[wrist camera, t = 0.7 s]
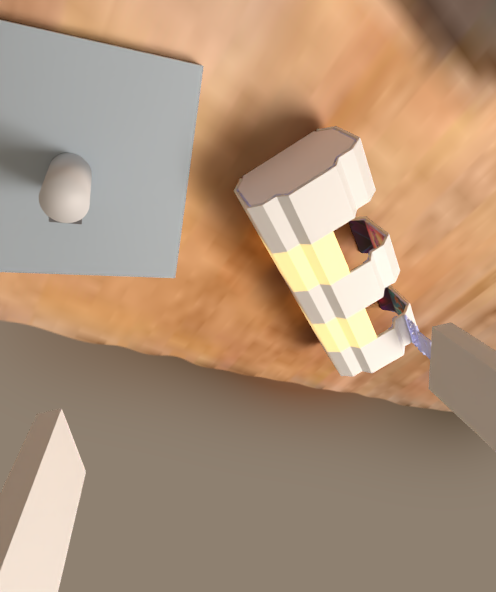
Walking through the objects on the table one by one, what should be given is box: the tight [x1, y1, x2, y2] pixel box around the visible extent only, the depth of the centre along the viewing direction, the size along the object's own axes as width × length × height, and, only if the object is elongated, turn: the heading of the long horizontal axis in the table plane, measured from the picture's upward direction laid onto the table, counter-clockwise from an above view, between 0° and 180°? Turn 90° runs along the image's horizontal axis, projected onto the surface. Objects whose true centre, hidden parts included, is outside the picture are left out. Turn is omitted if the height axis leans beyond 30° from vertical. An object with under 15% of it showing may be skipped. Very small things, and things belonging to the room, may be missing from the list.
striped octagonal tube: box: [234, 126, 431, 376], centre depth 38 cm, size 25×10×13 cm, turn 28°
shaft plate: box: [0, 19, 203, 278], centre depth 29 cm, size 18×18×7 cm
